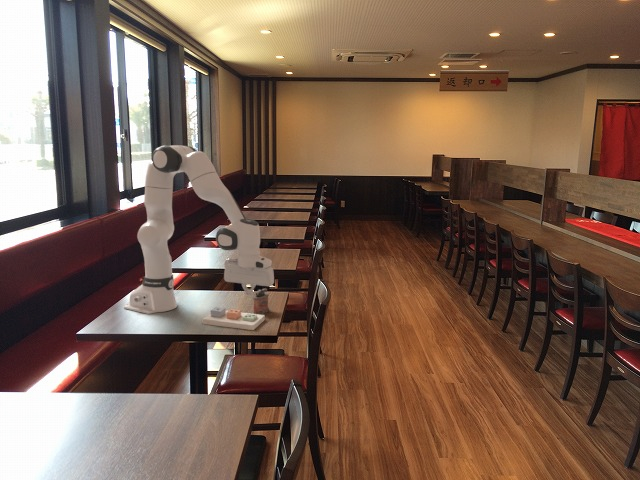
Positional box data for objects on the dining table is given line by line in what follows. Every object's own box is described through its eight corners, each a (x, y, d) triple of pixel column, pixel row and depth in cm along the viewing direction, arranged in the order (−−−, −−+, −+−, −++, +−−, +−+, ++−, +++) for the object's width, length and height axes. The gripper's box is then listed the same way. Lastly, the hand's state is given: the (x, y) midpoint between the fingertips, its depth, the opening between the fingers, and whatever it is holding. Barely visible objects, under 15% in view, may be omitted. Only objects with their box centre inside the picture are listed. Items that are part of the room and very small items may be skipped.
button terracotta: (226, 319, 205) (226, 312, 205) (231, 315, 209) (231, 308, 209) (236, 320, 204) (236, 313, 203) (241, 317, 208) (241, 309, 208)
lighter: (257, 315, 214) (257, 292, 212) (251, 313, 216) (251, 291, 214) (270, 310, 221) (270, 288, 219) (264, 308, 223) (264, 286, 221)
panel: (202, 323, 204) (202, 318, 204) (216, 313, 216) (216, 309, 215) (253, 330, 198) (253, 325, 198) (264, 319, 210) (264, 315, 209)
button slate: (210, 317, 207) (210, 310, 206) (216, 313, 211) (215, 306, 211) (220, 318, 206) (220, 311, 205) (225, 315, 210) (225, 307, 209)
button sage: (242, 324, 204) (242, 317, 203) (247, 320, 208) (247, 313, 207) (252, 325, 202) (252, 318, 202) (257, 322, 207) (257, 314, 206)
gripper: (221, 259, 200) (221, 293, 202) (269, 264, 194) (269, 299, 197) (228, 256, 205) (228, 289, 208) (275, 261, 200) (275, 294, 203)
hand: (248, 294), depth 202 cm, fingers closed
